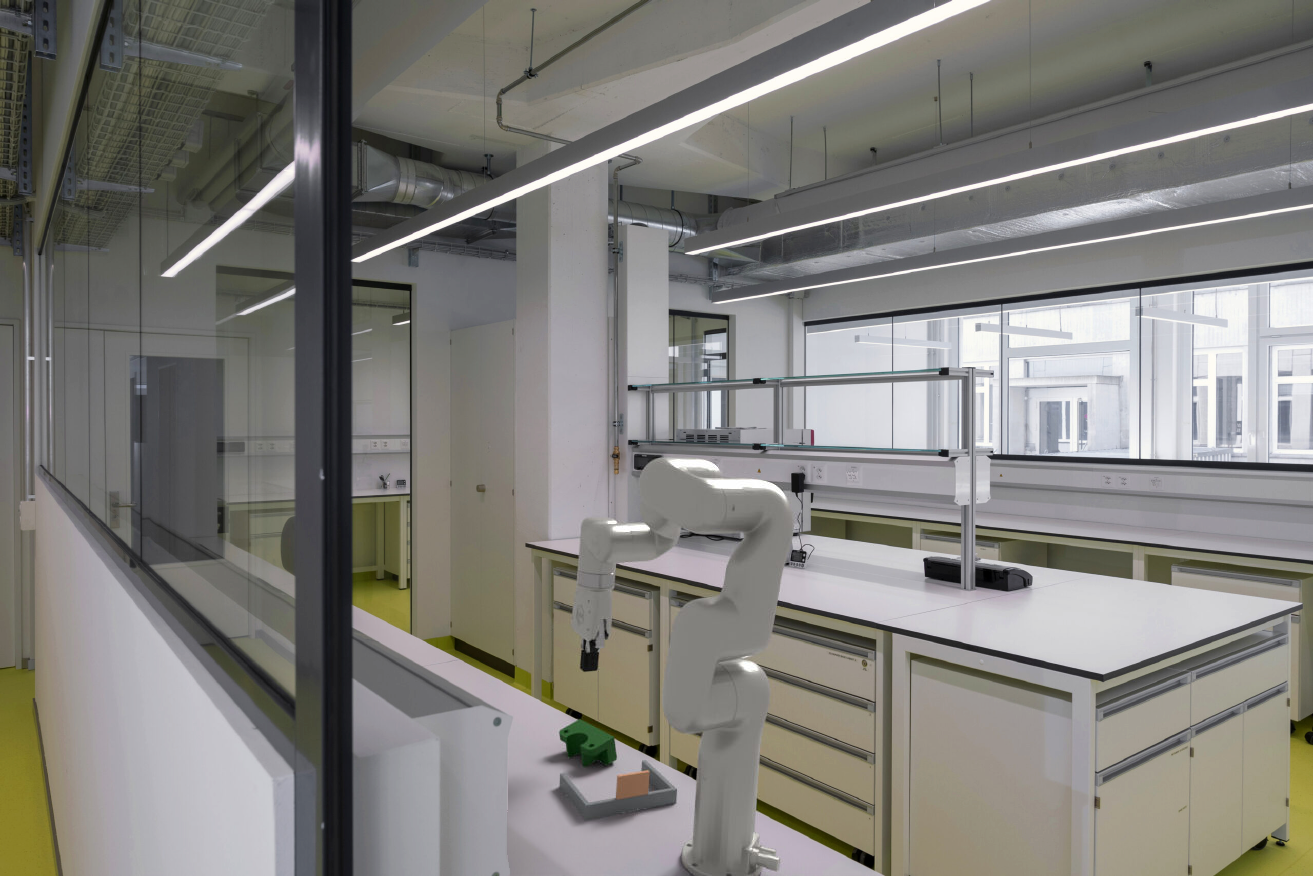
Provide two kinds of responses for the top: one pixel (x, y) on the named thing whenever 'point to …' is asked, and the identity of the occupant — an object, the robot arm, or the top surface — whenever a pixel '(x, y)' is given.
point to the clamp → (588, 743)
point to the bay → (624, 794)
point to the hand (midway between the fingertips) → (588, 669)
